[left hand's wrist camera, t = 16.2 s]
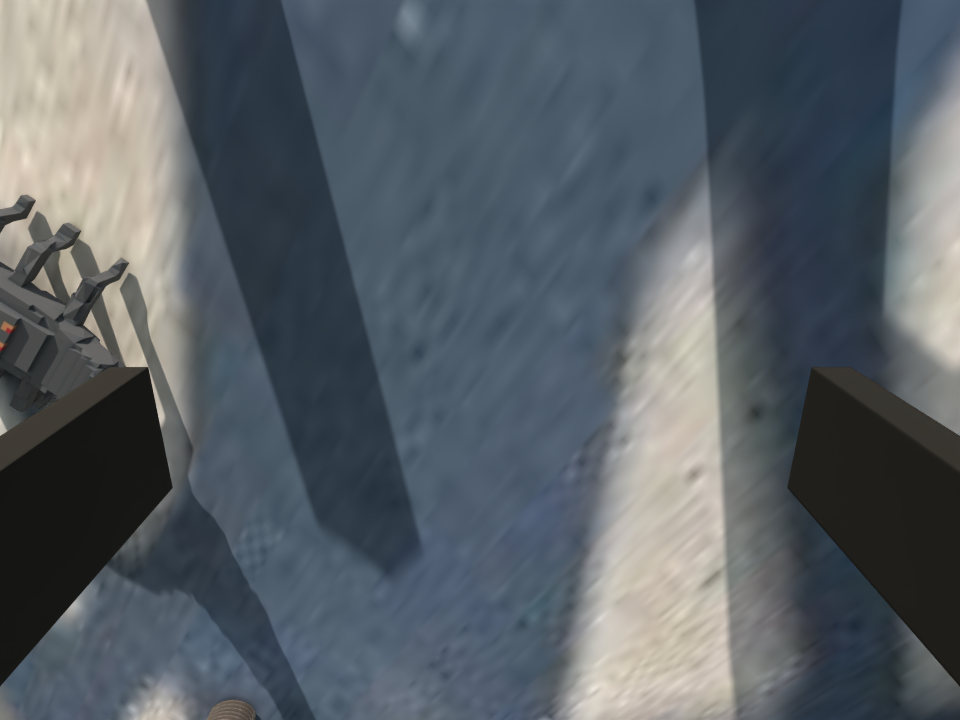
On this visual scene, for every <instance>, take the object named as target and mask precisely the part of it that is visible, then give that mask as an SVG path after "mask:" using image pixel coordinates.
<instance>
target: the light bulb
mask: <svg viewBox="0 0 960 720" xmlns="http://www.w3.org/2000/svg"><path fill="white" fill-rule="evenodd" d="M255 716H256V715H255V711H254V709H253V708H252V707H251V706H250V705H249V704H247V703H245V702H242V701H238V700H227V701H223V702H220V703H218V704H217V705H215V706H214V707H213V709H212V710H211V712H210V714H209V717H208V718H207V720H255Z"/></svg>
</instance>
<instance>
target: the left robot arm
mask: <svg viewBox="0 0 960 720" xmlns="http://www.w3.org/2000/svg"><path fill="white" fill-rule="evenodd" d="M172 488H173V487H172V483H171V478H170V473H169V468H168V463H167V458H166V453H165V448H164V443H163V438H162V433H161V428H160V423H159V418H158V413H157V408H156V403H155V399H154V394H153V389H152V384H151V379H150V374H149V369H148V367H109V368H107V369H106V370H104V371H103V372H101V373H99V374H98V375H96V376H95V377H93V378H92V379H90V380H88V381H87V382H85V383H84V384H82V385H80V386H79V387H77V388H76V389H74V390H72V391H71V392H69V393H68V394H66V395H65V396H63V397H61V398H60V399H58V400H57V401H55V402H53V403H52V404H50V405H49V406H47V407H45V408H44V409H42V410H41V411H39V412H38V413H36V414H34V415H33V416H31V417H30V418H28V419H26V420H25V421H23V422H22V423H20V424H19V425H17V426H15V427H14V428H12V429H11V430H9V431H7V432H6V433H4V434H3V435H1V436H0V686H1V685H2V684H3V682H4V681H5V680H6V679H7V678H8V677H9V676H10V674H11V673H12V672H13V671H14V670H15V669H16V668H17V666H18V665H19V664H20V663H21V662H22V661H23V659H24V658H25V657H26V656H27V655H28V654H29V653H30V651H31V650H32V649H33V648H34V647H35V646H36V644H37V643H38V642H39V641H40V640H41V639H42V638H43V636H44V635H45V634H46V633H47V632H48V631H49V630H50V628H51V627H52V626H53V625H54V624H55V623H56V621H57V620H58V619H59V618H60V617H61V616H62V615H63V613H64V612H65V611H66V610H67V609H68V608H69V606H70V605H71V604H72V603H73V602H74V601H75V600H76V598H77V597H78V596H79V595H80V594H81V593H82V592H83V590H84V589H85V588H86V587H87V586H88V585H89V583H90V582H91V581H92V580H93V579H94V578H95V577H96V575H97V574H98V573H99V572H100V571H101V570H102V568H103V567H104V566H105V565H106V564H107V563H108V562H109V560H110V559H111V558H112V557H113V556H114V555H115V554H116V552H117V551H118V550H119V549H120V548H121V547H122V545H123V544H124V543H125V542H126V541H127V540H128V539H129V537H130V536H131V535H132V534H133V533H134V532H135V530H136V529H137V528H138V527H139V526H140V525H141V524H142V522H143V521H144V520H145V519H146V518H147V517H148V516H149V514H150V513H151V512H152V511H153V510H154V509H155V507H156V506H157V505H158V504H159V503H160V502H161V501H162V499H163V498H164V497H165V496H166V495H167V494H168V492H169V491H170V490H171V489H172ZM787 488H788V489H789V490H790V491H791V492H792V494H793V495H794V496H795V497H796V498H797V499H798V501H799V502H800V503H801V504H802V505H803V506H804V507H805V509H806V510H807V511H808V512H809V513H810V514H811V516H812V517H813V518H814V519H815V520H816V521H817V522H818V524H819V525H820V526H821V527H822V528H823V529H824V530H825V532H826V533H827V534H828V535H829V536H830V537H831V539H832V540H833V541H834V542H835V543H836V544H837V545H838V547H839V548H840V549H841V550H842V551H843V552H844V554H845V555H846V556H847V557H848V558H849V559H850V560H851V562H852V563H853V564H854V565H855V566H856V567H857V568H858V570H859V571H860V572H861V573H862V574H863V575H864V577H865V578H866V579H867V580H868V581H869V582H870V583H871V585H872V586H873V587H874V588H875V589H876V590H877V592H878V593H879V594H880V595H881V596H882V597H883V598H884V600H885V601H886V602H887V603H888V604H889V605H890V606H891V608H892V609H893V610H894V611H895V612H896V613H897V615H898V616H899V617H900V618H901V619H902V620H903V621H904V623H905V624H906V625H907V626H908V627H909V628H910V630H911V631H912V632H913V633H914V634H915V635H916V636H917V638H918V639H919V640H920V641H921V642H922V643H923V644H924V646H925V647H926V648H927V649H928V650H929V651H930V653H931V654H932V655H933V656H934V657H935V658H936V659H937V661H938V662H939V663H940V664H941V665H942V666H943V668H944V669H945V670H946V671H947V672H948V673H949V674H950V676H951V677H952V678H953V679H954V680H955V681H956V682H957V684H958V685H959V686H960V436H959V435H957V434H956V433H954V432H953V431H951V430H949V429H948V428H946V427H945V426H943V425H941V424H940V423H938V422H937V421H935V420H934V419H932V418H930V417H929V416H927V415H926V414H924V413H922V412H921V411H919V410H918V409H916V408H915V407H913V406H911V405H910V404H908V403H907V402H905V401H903V400H902V399H900V398H899V397H897V396H895V395H894V394H892V393H891V392H889V391H888V390H886V389H884V388H883V387H881V386H880V385H878V384H876V383H875V382H873V381H872V380H870V379H868V378H867V377H865V376H864V375H862V374H861V373H859V372H857V371H856V370H854V369H853V368H851V367H812V369H811V374H810V379H809V384H808V389H807V394H806V399H805V403H804V408H803V413H802V418H801V423H800V428H799V433H798V438H797V443H796V448H795V453H794V458H793V463H792V468H791V473H790V478H789V483H788V487H787Z"/></svg>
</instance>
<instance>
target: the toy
mask: <svg viewBox="0 0 960 720" xmlns="http://www.w3.org/2000/svg"><path fill="white" fill-rule="evenodd" d="M35 201H36V200H34V199H33V198H31V197H30V196H28V195H22V196H20V198H19V199H18V201H17V202H16V204H15V205H14V206H13V207H10V208H5V209H0V233H1V231H2V229H3V228H4V226H5V225H7V224H9V223H11V222H13V221H17V220H21V219H26V218H27V216H28V214H29V213H30V211H31V209H32V207H33V205H34V203H35ZM80 232H81V231H80V230H79V229H78V228H76V227H75V226H73V225H72V224H70V223H65V224H63V225H62V226H61V228H60V229H59V230H58V232H57V233H56V234H55V235H54V236H53V237H51V238H49V239H47V240H43V241H40V242H36V243H34V244H32V245H30V246H29V247H27V249H26V251H25V253H24V255H23V256H22V258H21V260H20V262H19V264H18V265H17V267H16V269H15V271H14V270H12V269H11V268H9V267H8V266H6V265H5V264H3V263H1V262H0V378H1V376H2V375H3V373H4V371H5V370H6V371H7V372H9V373H11V374H13V375H14V376H16V377H18V378H19V379H21V380H22V381H21V383H20V385H19V387H18V389H17V391H16V393H15V395H14V397H13V399H12V401H11V403H10V406H12V407H13V408H15V409H17V410H18V411H20V412H23V411H25V410H26V409H28V408H29V407H30V406H32V405H34V406H36V407H37V408H39V409H40V408H41V407H43V406H45V405H46V404H47V402H48V401H49V399H50V397H51V396H52V393H53V394H55V395H56V396H57V397H56V399H57V400H58V399H60V398H61V397H63V396H65V395H66V394H68V393H69V392H71V391H72V390H74V389H76V388H77V387H79V386H80V385H82V384H84V383H85V382H87V381H88V380H90V379H92V378H93V377H95V376H96V375H98V374H99V373H101V372H103V371H104V370H106V369H107V368H109V367H124V366H123V365H122V364H121V363H120V362H119V360H118V359H117V358H116V357H115V356H113V355H112V354H111V353H110V352H109V351H108V350H107V349H106V348H104V347H103V346H102V345H101V344H100V342H99V341H100V340H99V339H98V338H97V337H96V336H95V335H94V334H93V333H92V332H91V331H89V330H88V329H87V328H86V327H85V326H83V324H84V322H85V320H86V318H87V316H88V314H89V312H90V310H91V308H92V306H93V305H94V303H95V302H96V300H97V299H98V297H99V296H100V294H101V293H102V291H103V290H104V288H105V287H106V286H107V285H108V284H110V283H113V282H115V281H117V280H119V279H120V278H121V276H122V274H123V272H124V271H125V269H126V267H127V266H128V264H129V263H128V262H127V261H125V260H124V259H122V258H120V259H119V260H118V261H117V262H116V263H115V264H114V265H113V266H111V268H110V269H109V270H108V271H106V272H103V273H101V274H98V275H95V276H93V277H90V276H88V277H85V278H83V280H82V282H81V283H80V285H79V287H78V289H77V291H76V293H72V295H71V298H70V300H69V302H68V304H67V306H66V304H64V303H63V302H61V301H60V300H58V299H57V298H55V297H54V296H53V295H51V294H50V293H48V292H47V291H41V290H40V289H39V288H37V287H36V286H35V285H34V284H33V283H31V282H32V281H33V280H34V279H35V278H36V276H37V275H38V273H39V271H40V270H41V268H42V267H43V265H44V263H45V262H46V260H47V259H48V257H49V256H50V255H51V253H52V252H54V251H58V250H63V249H67V248H69V247H71V246H72V245H74V243H75V241H76V239H77V238H78V236H79V234H80ZM51 392H52V393H51Z"/></svg>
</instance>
